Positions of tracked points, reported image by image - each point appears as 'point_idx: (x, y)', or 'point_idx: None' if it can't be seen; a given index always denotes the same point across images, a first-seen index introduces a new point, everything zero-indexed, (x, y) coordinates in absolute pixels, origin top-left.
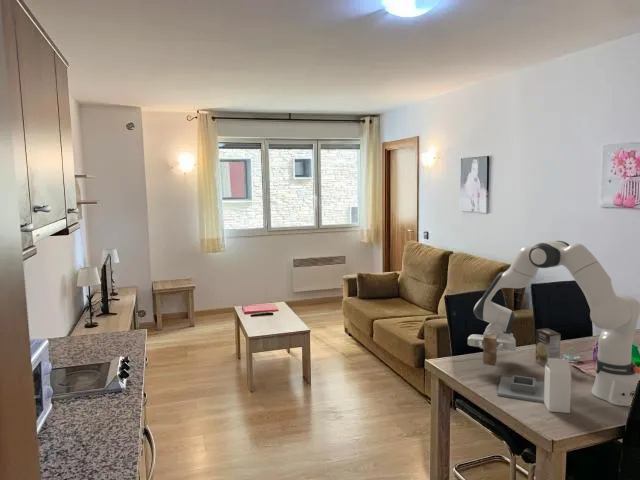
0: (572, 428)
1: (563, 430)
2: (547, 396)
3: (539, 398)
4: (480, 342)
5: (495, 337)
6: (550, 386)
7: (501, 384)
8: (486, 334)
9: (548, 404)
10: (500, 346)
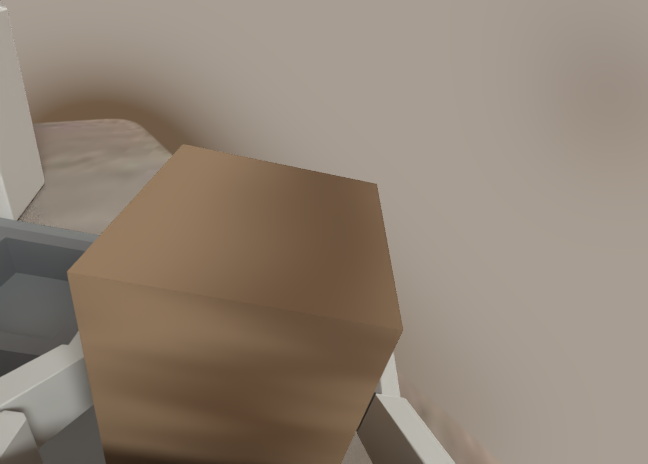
0: (35, 134)
1: (73, 131)
2: (24, 149)
3: (20, 229)
4: (420, 442)
5: (163, 180)
6: (19, 80)
7: None
8: (356, 324)
9: (37, 166)
10: (54, 362)
